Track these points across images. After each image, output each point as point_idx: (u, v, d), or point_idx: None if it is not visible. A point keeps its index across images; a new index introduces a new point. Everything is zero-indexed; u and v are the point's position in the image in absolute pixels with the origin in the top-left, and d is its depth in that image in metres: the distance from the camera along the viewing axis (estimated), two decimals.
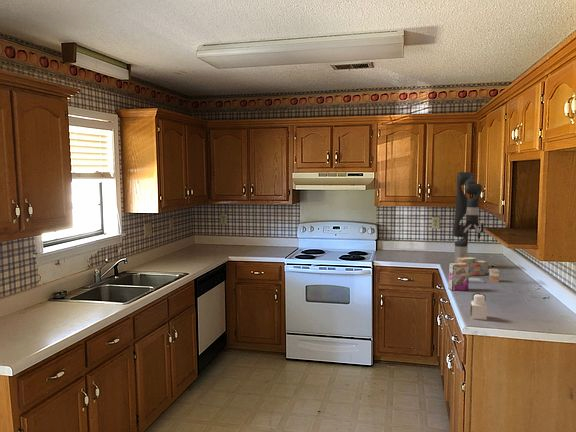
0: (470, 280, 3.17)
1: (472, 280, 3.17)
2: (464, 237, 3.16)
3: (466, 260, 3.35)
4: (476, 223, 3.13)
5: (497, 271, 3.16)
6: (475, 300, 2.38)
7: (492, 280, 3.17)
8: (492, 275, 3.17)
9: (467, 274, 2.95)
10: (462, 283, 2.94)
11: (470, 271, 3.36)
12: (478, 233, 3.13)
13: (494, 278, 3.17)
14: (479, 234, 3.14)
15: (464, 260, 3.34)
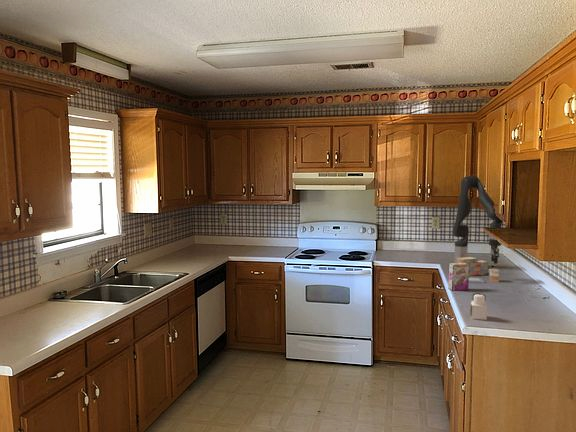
0: (470, 280, 3.17)
1: (472, 280, 3.17)
2: (497, 262, 3.14)
3: (466, 260, 3.35)
4: None
5: (497, 271, 3.16)
6: (475, 300, 2.38)
7: (492, 280, 3.17)
8: (492, 275, 3.17)
9: (467, 274, 2.95)
10: (462, 283, 2.94)
11: (470, 271, 3.37)
12: None
13: (494, 278, 3.17)
14: (494, 257, 3.23)
15: (464, 260, 3.34)
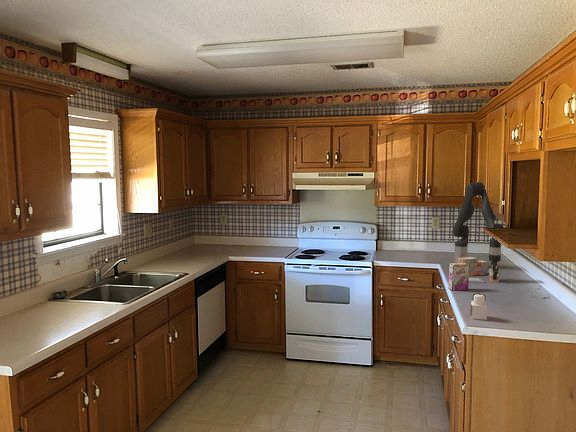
0: (470, 280, 3.17)
1: (472, 280, 3.17)
2: (496, 278, 3.16)
3: (467, 260, 3.35)
4: None
5: None
6: (475, 300, 2.38)
7: (492, 280, 3.17)
8: (492, 275, 3.17)
9: (467, 274, 2.95)
10: (462, 283, 2.94)
11: (471, 271, 3.37)
12: None
13: None
14: None
15: (465, 260, 3.34)
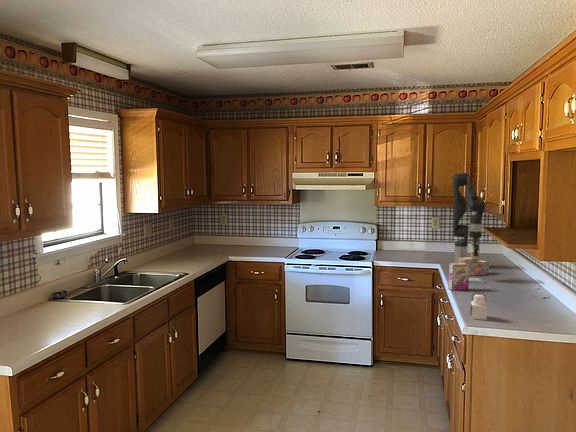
0: (470, 280, 3.17)
1: (472, 280, 3.17)
2: (477, 255, 3.16)
3: (467, 260, 3.35)
4: None
5: None
6: (475, 300, 2.38)
7: (473, 257, 3.17)
8: (473, 252, 3.17)
9: (467, 274, 2.95)
10: (462, 283, 2.94)
11: (471, 271, 3.37)
12: None
13: None
14: None
15: (466, 260, 3.34)
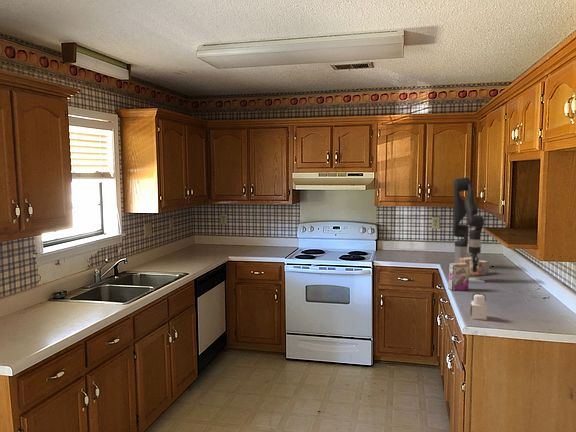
0: (470, 280, 3.17)
1: (472, 280, 3.17)
2: None
3: (468, 260, 3.34)
4: None
5: None
6: (475, 300, 2.38)
7: (472, 272, 3.18)
8: (472, 267, 3.17)
9: (467, 274, 2.95)
10: (462, 283, 2.94)
11: None
12: None
13: None
14: None
15: (467, 260, 3.34)
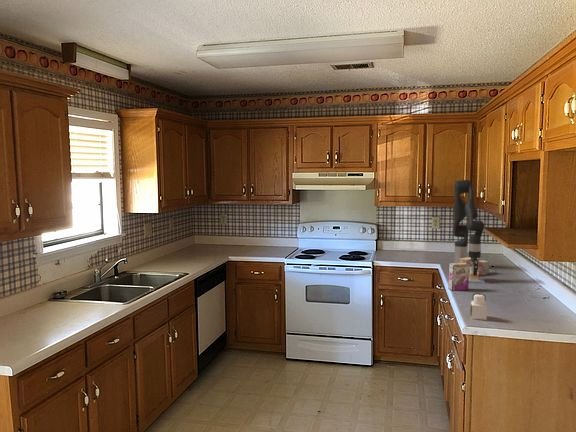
0: (470, 280, 3.17)
1: (472, 280, 3.17)
2: (476, 274, 3.15)
3: (469, 260, 3.34)
4: None
5: None
6: (475, 300, 2.38)
7: (472, 278, 3.18)
8: (472, 273, 3.18)
9: (467, 274, 2.95)
10: (462, 283, 2.94)
11: None
12: None
13: (474, 276, 3.18)
14: None
15: (467, 260, 3.34)
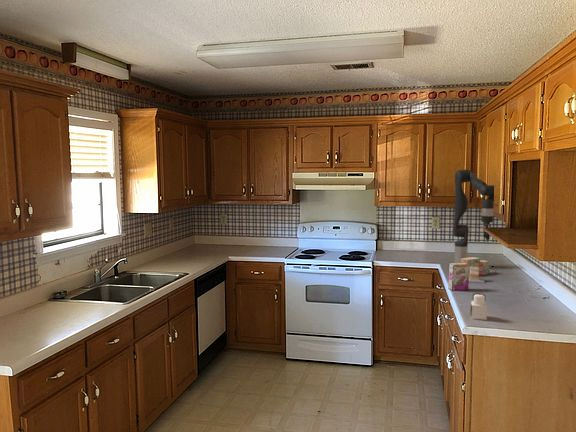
0: (470, 280, 3.17)
1: (472, 280, 3.17)
2: (489, 238, 3.18)
3: (470, 260, 3.34)
4: None
5: (477, 269, 3.17)
6: (475, 300, 2.38)
7: (472, 278, 3.18)
8: (472, 273, 3.18)
9: (467, 274, 2.95)
10: (462, 283, 2.94)
11: None
12: None
13: (474, 276, 3.18)
14: None
15: (469, 260, 3.33)
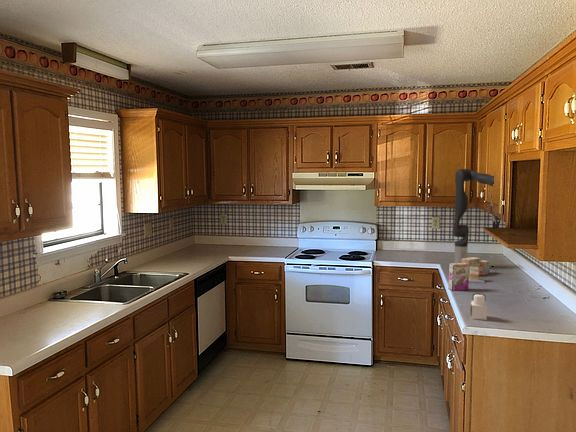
0: (470, 280, 3.17)
1: (472, 280, 3.17)
2: None
3: (471, 260, 3.33)
4: None
5: (477, 269, 3.17)
6: (475, 300, 2.38)
7: (472, 278, 3.18)
8: (472, 273, 3.18)
9: (467, 274, 2.95)
10: (462, 283, 2.94)
11: None
12: None
13: (474, 276, 3.18)
14: None
15: (470, 260, 3.33)
